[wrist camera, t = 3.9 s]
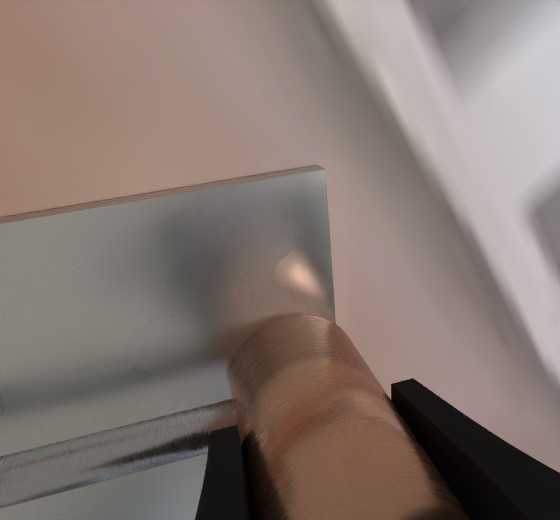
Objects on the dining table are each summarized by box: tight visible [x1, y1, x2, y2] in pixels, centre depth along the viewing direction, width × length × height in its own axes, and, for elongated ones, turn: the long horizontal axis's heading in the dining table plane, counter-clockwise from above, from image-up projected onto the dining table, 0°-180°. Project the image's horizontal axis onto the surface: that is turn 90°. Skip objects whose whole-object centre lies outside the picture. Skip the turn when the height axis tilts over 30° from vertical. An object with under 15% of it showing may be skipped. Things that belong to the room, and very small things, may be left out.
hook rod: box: [0, 315, 471, 520], centre depth 9 cm, size 15×4×6 cm, turn 96°
